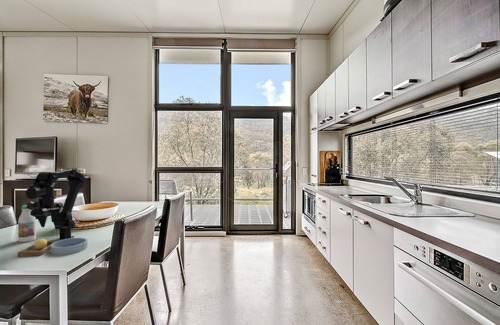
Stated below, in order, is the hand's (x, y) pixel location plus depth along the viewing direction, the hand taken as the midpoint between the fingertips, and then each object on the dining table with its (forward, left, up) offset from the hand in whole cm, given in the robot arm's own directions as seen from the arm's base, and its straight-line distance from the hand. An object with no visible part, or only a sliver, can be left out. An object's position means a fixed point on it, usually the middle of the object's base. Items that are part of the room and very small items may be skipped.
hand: (48, 224), depth 142 cm
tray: (+7, 0, -12) cm, 14 cm away
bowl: (+7, +14, -12) cm, 20 cm away
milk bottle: (-13, -18, -12) cm, 25 cm away
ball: (+7, 0, -11) cm, 13 cm away
